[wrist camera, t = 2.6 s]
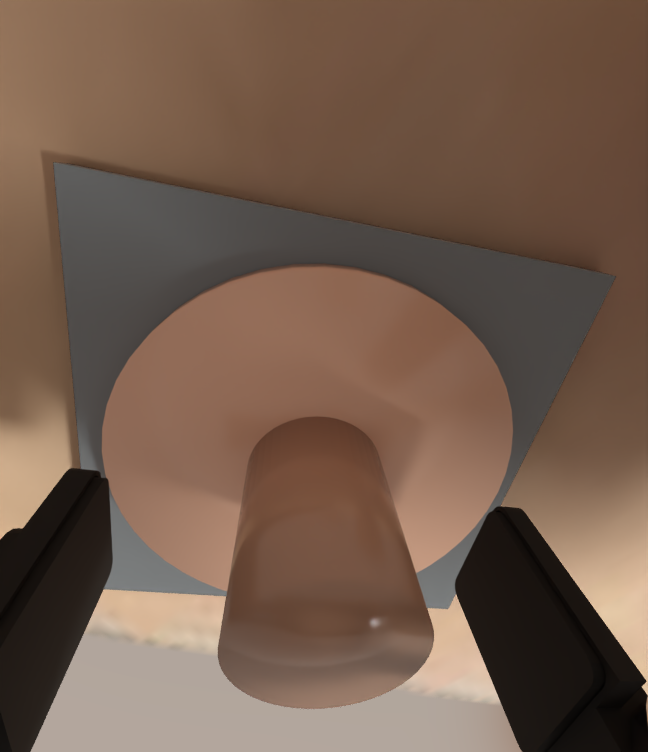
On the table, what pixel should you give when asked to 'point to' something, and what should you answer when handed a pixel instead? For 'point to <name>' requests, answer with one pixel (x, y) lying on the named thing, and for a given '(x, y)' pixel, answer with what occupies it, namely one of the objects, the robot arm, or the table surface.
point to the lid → (310, 468)
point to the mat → (278, 248)
